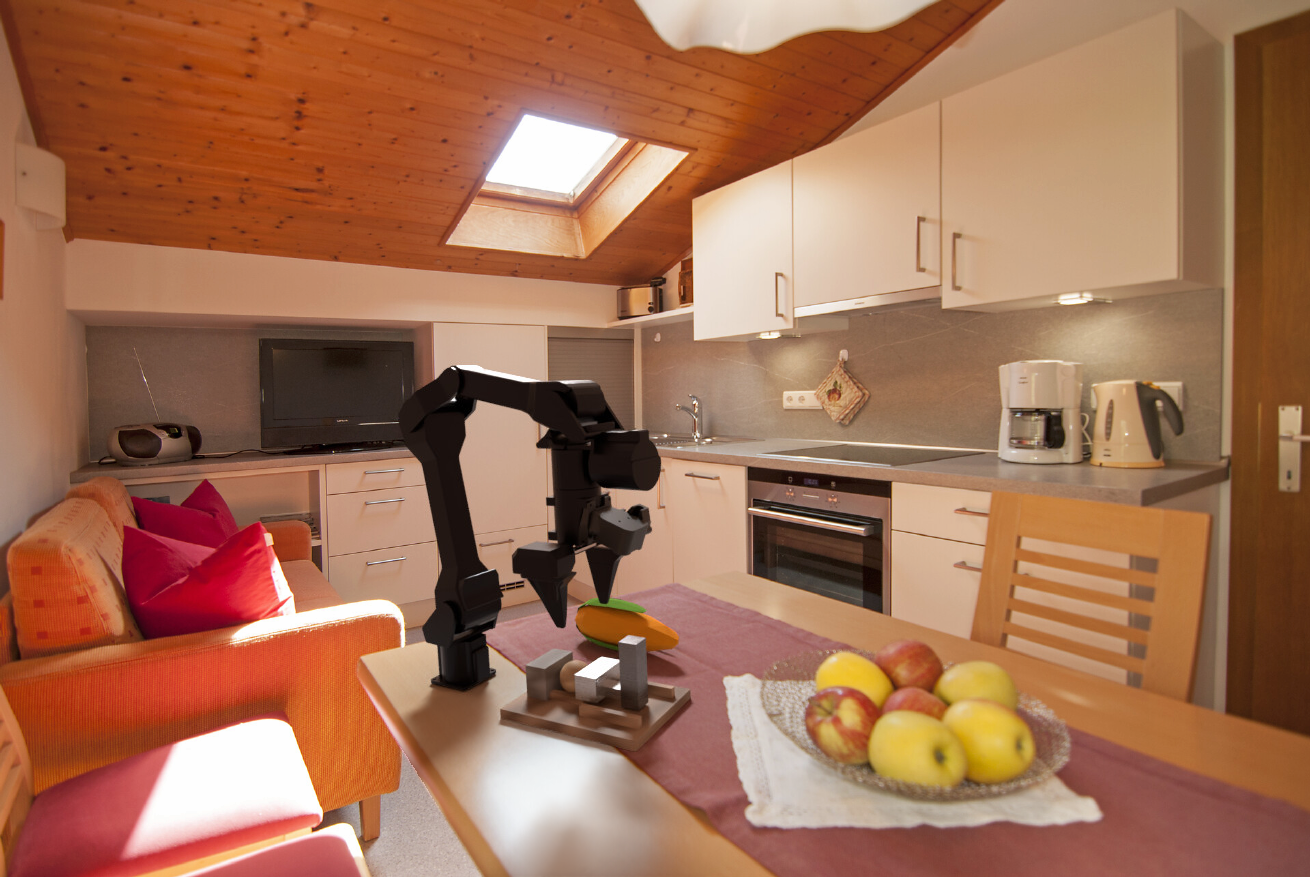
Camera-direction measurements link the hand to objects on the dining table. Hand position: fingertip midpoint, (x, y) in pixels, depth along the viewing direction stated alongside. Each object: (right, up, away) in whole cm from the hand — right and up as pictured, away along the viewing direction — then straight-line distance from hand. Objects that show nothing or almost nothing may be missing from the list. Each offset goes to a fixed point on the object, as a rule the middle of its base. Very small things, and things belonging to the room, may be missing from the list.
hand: (583, 614), depth 84 cm
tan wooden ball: (-1, -9, +4) cm, 10 cm away
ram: (+4, -11, +1) cm, 12 cm away
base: (+1, -12, +3) cm, 13 cm away
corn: (+5, -11, +22) cm, 25 cm away
